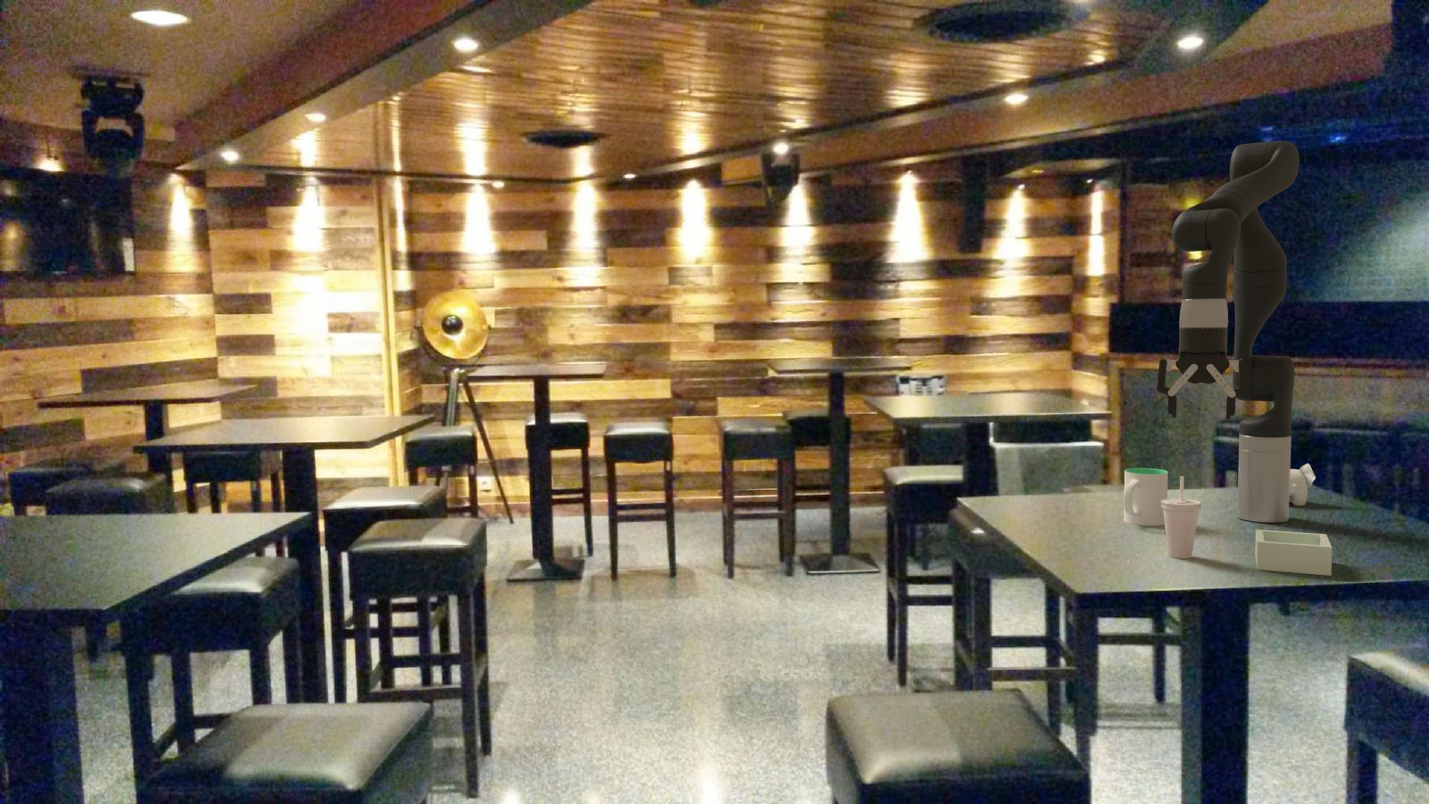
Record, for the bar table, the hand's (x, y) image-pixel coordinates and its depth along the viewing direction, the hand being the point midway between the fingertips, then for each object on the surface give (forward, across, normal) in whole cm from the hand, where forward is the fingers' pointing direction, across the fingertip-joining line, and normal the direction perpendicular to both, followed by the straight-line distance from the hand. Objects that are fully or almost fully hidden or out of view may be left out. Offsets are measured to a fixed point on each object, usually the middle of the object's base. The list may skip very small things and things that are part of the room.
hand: (1200, 418), depth 177 cm
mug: (+24, +10, -23) cm, 35 cm away
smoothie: (+24, +3, +4) cm, 25 cm away
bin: (+24, -14, +4) cm, 28 cm away
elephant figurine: (+23, -17, -57) cm, 64 cm away
